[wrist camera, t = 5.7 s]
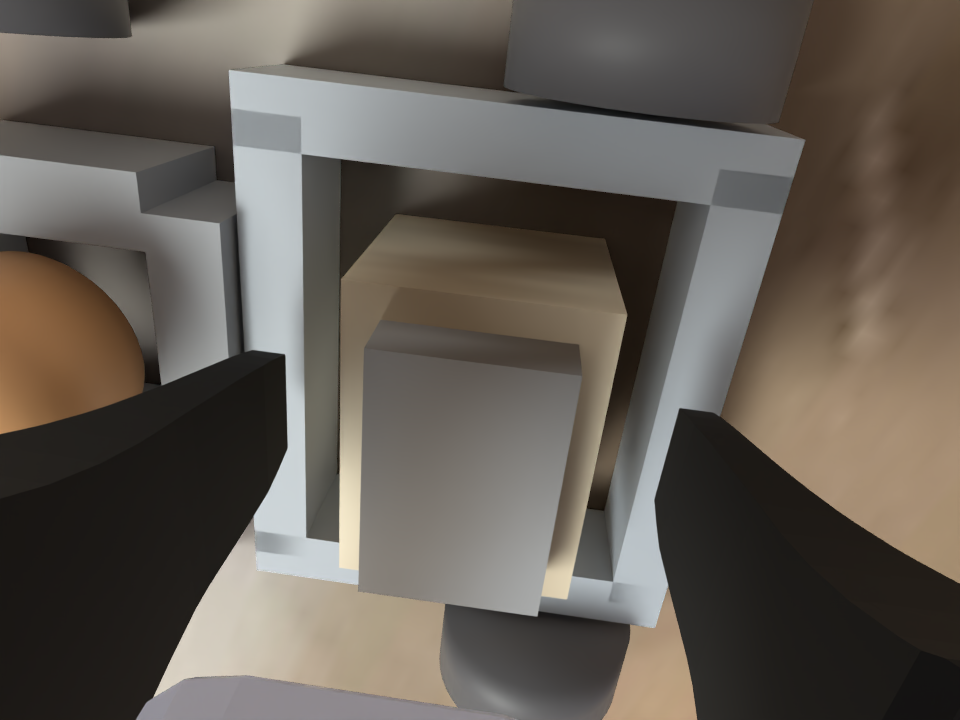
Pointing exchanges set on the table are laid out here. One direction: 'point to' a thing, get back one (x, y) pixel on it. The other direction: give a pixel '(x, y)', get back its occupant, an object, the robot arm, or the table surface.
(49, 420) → the orange rounded peg
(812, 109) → the table surface
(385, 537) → the two-tone stepped block
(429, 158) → the frame
